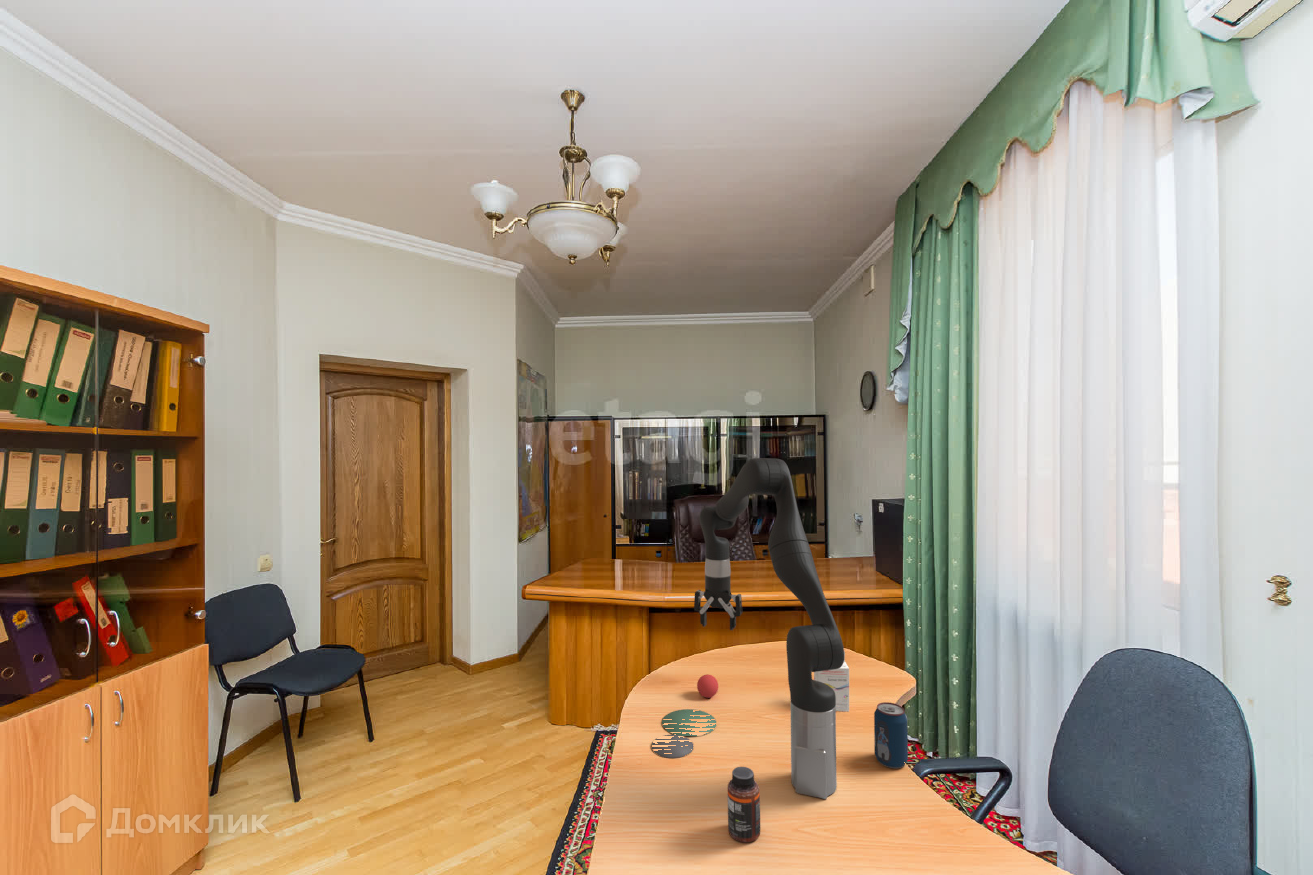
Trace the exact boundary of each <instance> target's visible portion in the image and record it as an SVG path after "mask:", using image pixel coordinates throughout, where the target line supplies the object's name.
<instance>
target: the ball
mask: <svg viewBox="0 0 1313 875" xmlns="http://www.w3.org/2000/svg"><path fill="white" fill-rule="evenodd" d="M696 687H697V691H698V693H699V695H700V696H702V697H704V698H707V699H709V698H713V697H715V695H717V693H718V691H719V683H718V680H717V679H716V676H714V675H712V674H703V675H701V676H700V677H699V678H698V680H697V683H696Z"/></svg>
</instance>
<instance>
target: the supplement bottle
mask: <svg viewBox="0 0 1313 875" xmlns="http://www.w3.org/2000/svg"><path fill="white" fill-rule="evenodd" d="M731 774H732V776H731V779H730V780H729V781H728V784H727V789H726V790H727V821H728V822H727V828H728V832H729V836H730V837H731V838H732V839H734V840H735V841H737V842H740V843H752V842H754V841H757V839H758V838H759V837H760V836H761V801H760V799H761V797H760V796H761V795H760V793H761V792H760V787H759V784H758V783H757V781H756V780H755V774H754V771H753V770H752V769H751V768H750V767H747V766H737V767H735V768H734V769H733V770H732V772H731Z"/></svg>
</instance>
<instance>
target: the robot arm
mask: <svg viewBox="0 0 1313 875" xmlns="http://www.w3.org/2000/svg"><path fill="white" fill-rule="evenodd" d="M793 484H794V483H793V480H792V476H791V472H790V469H789V467H788V465H787V463H786V462H785V460H783V459H779V458H771V457H769V458H766V457H763V458H762V457H755V458H750V459H749V460H747V461H746V462H745V463H744V464H743V466H742V467H741V468H740V471H739V473H738V474H737V476H736V478H735V479H734V481H733V483H732V484H731V487H730V488H729V490H727V492H725V494H723V496H722V497H721V498H719V499H718V501H717V502H716V504H715V506H714V505H712V506H710V505H709V506H704V507H703V508H702V509H701V510H700V513H699V517H698V520H699V524H700V527H701V529H702V530H701V531H702V534H703V538H704V543H705V564H704V589H705V590H703V591H702V590H701V589H697V590H696V591H695V592H694V601H693V602H694V603H693V604H694V605H693V610H694V612H697V613H699V614H700V615H699V618H700V621H699V622H700V624H701V626H702V627H703V628H704V627H706V626H707V624H708V623H707V622H708V621H707V617H708V616H707V615H708V614H707V610H708V608H709V607H711V608H713V609H715V608H717V609H724V610H725V612H727V614H728V615H729V616H730V617H729V630H730V631H733V630H734V629H735V628H736V626H737V617H740V616H741V615H742V614H743V600H742V594H741V593H738V594H732V592H731V589H732V588H731V574H732V570H731V561H730V541H729V540H728V539H727V538H726V537H721V536H716V534H715V531H719V530H720V531H721V530H729V529H731V528H733V527H734V526H735V524H736V521H737V519H738V517H739V516H740V515H742V514H743V513H744V512H745V511H746V510H747V508H748V506H749V500H750V499H749V498H750V497H749V496H750V495H756V496H757V495H758V496H773V497H774V501H775V505H776V516H775V521H774V523H773V526H772V529H771V531H770V534H769V537H768V542H767V543H768V544H767V547H768V548H767V549H768V552H769V556H770V560H771V564H772V567H773V571H774V572H775V575H776V576H777V578H778V579H779V580H780V582H782V583H783V585H784V586H785V587H786V588H787V589H788V590H789V591H790V592H791V593H792V594H793V595H794V596H795V597H796V598H797V600H799V602H800V603H801V604H802V606H803V607H804V609H805V610H806V613H807V615H808V616H809V619H810V622H811V624H810V625H809V624H808V625H798V626H793V627H791V628H789V630H788V632H787V635H786V643H785V644H786V645H785V647H786V661H787V674H788V675H787V681H788V688H789V694H790V698H789V699H790V770H791V771H790V774H791V775H790V776H791V777H790V778H791V779H790V780H791V784H792V786H793V787H794V789H795V793H797V794H800V795H806V796H809V797H813V798H818V799H823V800H827V798H828V796H830V795H832V794H834V793H835V792H836V791H837V787H838V786H837V784H838V783H837V780H838V779H837V776H838V775H837V730H836V729H837V723H836V722H837V711H836V696H835V692H834V690H833V689H832V688H831V687H830V686H828V685H827V684H825V683H822V682H819V681H816V680H814V679H813V673H814V672H817V671H827V670H834V669H838V668H840V667H841V666H842V665H843V663H844V651H845V648H844V644H843V639H842V636H841V633H840V631H839V629H838V626H837V623H836V621H835V618H834V616H833V613H832V611H831V609H830V606H829V604H828V601H827V598H826V597H825V593H824V590H823V588H822V585H821V580H820V578H819V574H818V572H817V569H816V565H815V561H814V560H815V559H814V558H813V554H812V550H811V547H810V543H809V541H808V538H807V535H806V532H805V530H804V526H803V523H802V520H801V515H800V512H799V507H798V503H797V499H796V494H795V490H794V485H793ZM703 597H704V598H705V600H706V602H705V603H704V605H703V606H701V604H702V603H701V601H702V600H701V599H702V598H703ZM731 600H732V601H733V603H735V609H734V607H733V605H732V603H731Z"/></svg>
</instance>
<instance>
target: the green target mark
mask: <svg viewBox="0 0 1313 875" xmlns="http://www.w3.org/2000/svg"><path fill="white" fill-rule="evenodd" d="M693 710H695V709H692V708H690V709H689V708H685V709H678V710H674V711H670V712H669V713H667V714H665V716H663V717H662V719H672V720H661V725H662V724H664V723H677V724H668V725H663V726H662V728H663V727H664V728H674V729H666V730H667V731H666V730H665V731H666V732H668V733H669V732H681V733H673V734H672V735H674V734H676V735H680V736H697V735H692V734H691V735H690V734H689V733H686V734H682V732H695V731H691V730H692V729H691V730H685V729H679V728H686V729H687V728H700V727H695V726H690V725H685V724H683V725H679V724H681V723H696V722H697V721H691V720H689V719H710V720H711V719H715V720H711V721H709V720H708V721H707V722H697V723H717V720H716V718H715V717H714V716H713V715H712V714H710V713H708V712H707V711H703V710H699V709H698V710H699V711H695V712H693ZM690 715H710V716H706V717H700V716H694V717H693V716H690ZM682 719H685V720H682ZM710 725H712V724H710ZM715 727H716V728H717V725H716V724H715V725H713V726H709V725H708V726H706V727H702V728H715ZM664 728H663V729H664ZM716 728H715V729H716ZM711 731H712V732H713V731H714V730H713V729H710V730H707V731H699V732H710V733H712V732H711ZM706 735H707V733H706Z"/></svg>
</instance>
